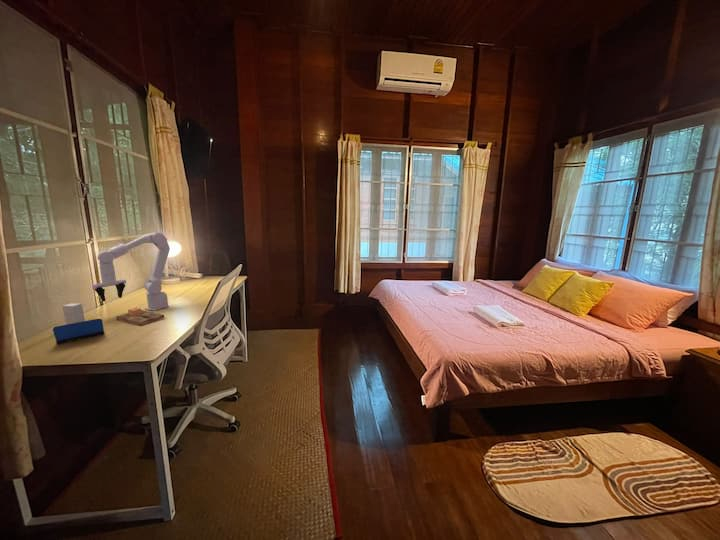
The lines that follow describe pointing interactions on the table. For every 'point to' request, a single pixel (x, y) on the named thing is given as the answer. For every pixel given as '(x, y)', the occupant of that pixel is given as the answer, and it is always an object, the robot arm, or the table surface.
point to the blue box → (78, 331)
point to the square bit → (134, 312)
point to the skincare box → (73, 313)
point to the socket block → (140, 318)
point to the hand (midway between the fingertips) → (112, 299)
